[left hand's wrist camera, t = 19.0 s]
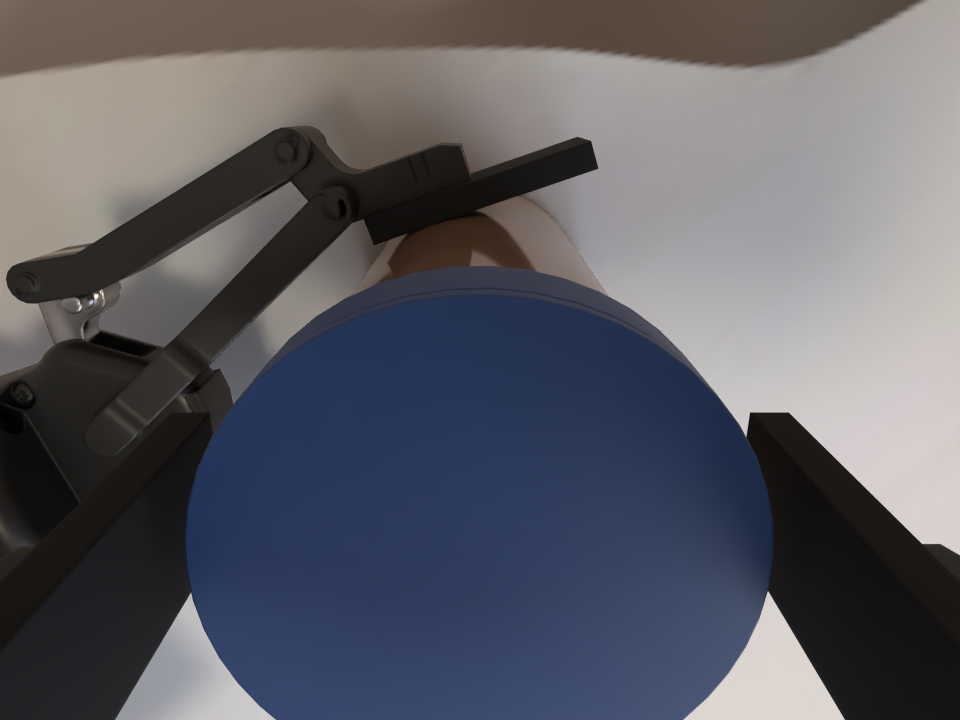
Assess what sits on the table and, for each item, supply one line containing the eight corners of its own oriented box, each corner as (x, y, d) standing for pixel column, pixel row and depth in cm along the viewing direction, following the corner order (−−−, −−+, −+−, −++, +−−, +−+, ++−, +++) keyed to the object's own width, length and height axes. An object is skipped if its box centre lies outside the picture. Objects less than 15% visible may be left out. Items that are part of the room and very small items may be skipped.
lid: (724, 687, 14) (759, 771, 12) (279, 719, 14) (251, 804, 12) (742, 239, 11) (794, 265, 9) (169, 291, 11) (112, 325, 9)
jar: (351, 215, 26) (152, 381, 10) (561, 165, 25) (696, 260, 10) (407, 405, 29) (319, 769, 13) (597, 364, 28) (749, 694, 12)
